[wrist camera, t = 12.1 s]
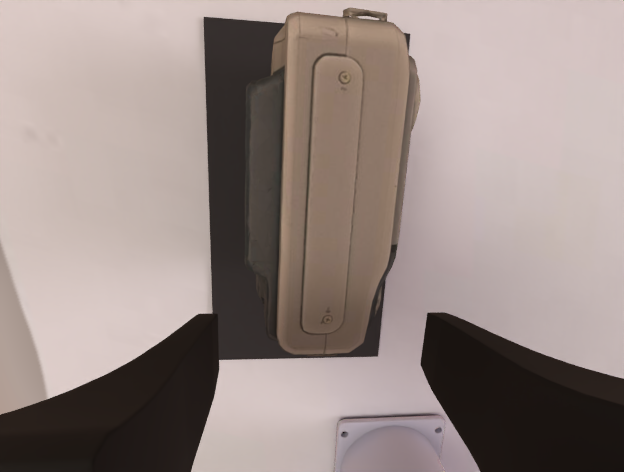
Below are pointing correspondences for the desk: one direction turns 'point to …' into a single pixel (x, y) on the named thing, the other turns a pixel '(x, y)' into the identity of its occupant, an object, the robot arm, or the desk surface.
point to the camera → (327, 176)
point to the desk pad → (241, 189)
